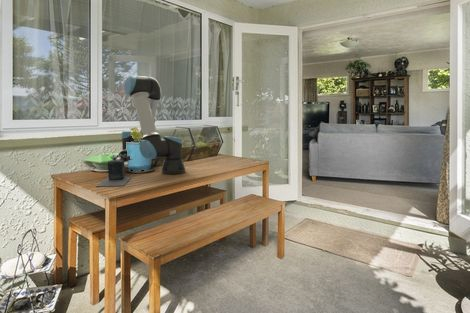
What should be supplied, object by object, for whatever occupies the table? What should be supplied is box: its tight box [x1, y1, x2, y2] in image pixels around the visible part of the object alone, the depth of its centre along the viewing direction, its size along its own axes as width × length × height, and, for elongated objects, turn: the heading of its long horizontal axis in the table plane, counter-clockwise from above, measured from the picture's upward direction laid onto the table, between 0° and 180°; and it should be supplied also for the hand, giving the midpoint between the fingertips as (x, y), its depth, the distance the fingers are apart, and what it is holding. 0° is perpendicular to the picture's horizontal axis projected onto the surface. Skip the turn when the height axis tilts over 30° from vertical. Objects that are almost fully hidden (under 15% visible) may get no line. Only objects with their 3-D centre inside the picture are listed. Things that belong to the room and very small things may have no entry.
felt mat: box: [95, 176, 132, 188], centre depth 175 cm, size 14×20×1 cm
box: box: [107, 159, 126, 180], centre depth 180 cm, size 8×6×11 cm
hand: (117, 161), depth 185 cm, fingers closed
